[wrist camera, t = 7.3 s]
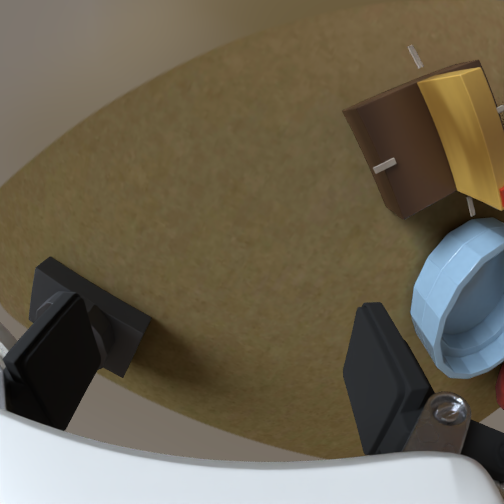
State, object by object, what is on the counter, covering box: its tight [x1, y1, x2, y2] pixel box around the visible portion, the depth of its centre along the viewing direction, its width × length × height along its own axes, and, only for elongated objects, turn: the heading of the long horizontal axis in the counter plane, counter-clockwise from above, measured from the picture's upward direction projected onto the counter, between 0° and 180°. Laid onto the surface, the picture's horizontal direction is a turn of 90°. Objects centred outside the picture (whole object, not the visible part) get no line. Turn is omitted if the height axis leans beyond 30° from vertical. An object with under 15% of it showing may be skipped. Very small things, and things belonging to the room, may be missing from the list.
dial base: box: [343, 45, 504, 219], centre depth 16 cm, size 11×11×3 cm
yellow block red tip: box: [417, 67, 504, 211], centre depth 12 cm, size 7×2×5 cm, turn 30°
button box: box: [29, 257, 151, 378], centre depth 22 cm, size 10×6×4 cm, turn 60°
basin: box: [410, 217, 504, 379], centre depth 19 cm, size 12×12×5 cm
